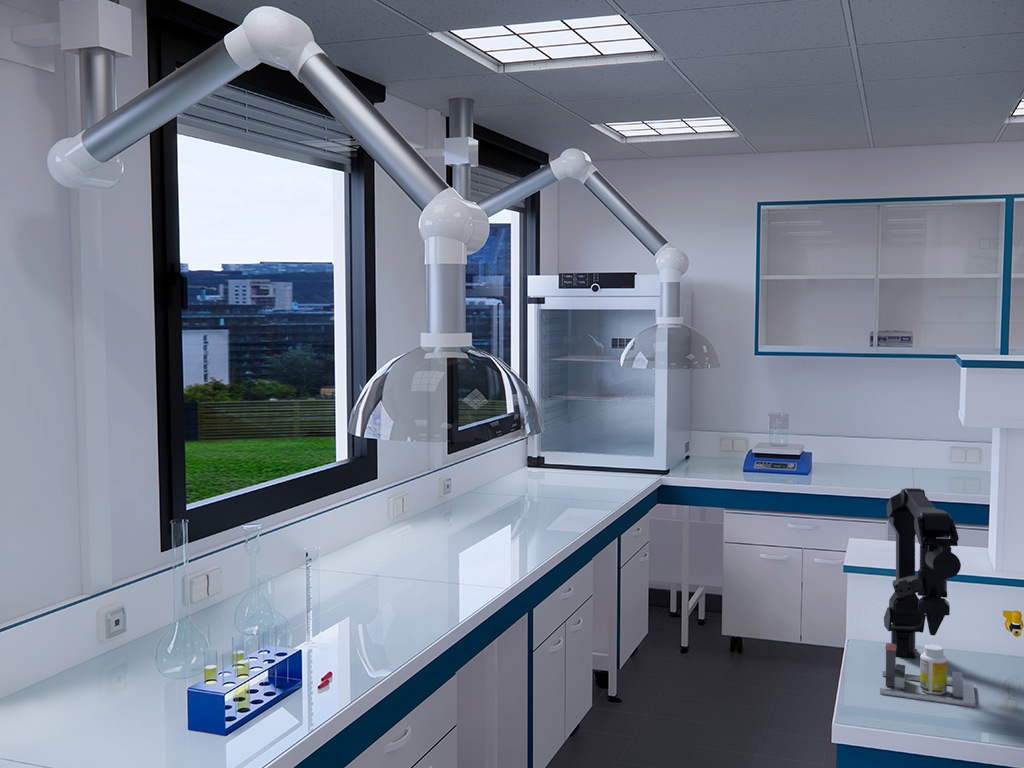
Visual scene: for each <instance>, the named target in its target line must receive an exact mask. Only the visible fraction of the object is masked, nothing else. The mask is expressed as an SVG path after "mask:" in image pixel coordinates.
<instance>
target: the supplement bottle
mask: <svg viewBox="0 0 1024 768" xmlns="http://www.w3.org/2000/svg"><path fill="white" fill-rule="evenodd" d="M919 656H920V660H919V661H920V664H919V665H920V667H919V670H920V671H919V674H920V675H919V676H920V681H919V687H920V690H921V691H922V692H924V693H925V694H927V695H935V696H942V695H944V694H946V693H947V691H948V685H947V679H948V657H947V656H946V655H944V647H943V646H941V645H937V644H925V645H924V648H923V653H921V654H920V655H919Z"/></svg>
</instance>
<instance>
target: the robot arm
mask: <svg viewBox="0 0 1024 768" xmlns="http://www.w3.org/2000/svg"><path fill="white" fill-rule="evenodd" d="M886 516H887V518H888V522H889V524H890V526H891V528H892V529H893V531H894V533H895V580H893V581H892V587H893V590H894V591H893V593H892V595H891V596H890V598H889V600H888V606H887V608H886V611H885V613H884V616H883V626H884V627H885V629H886V630H887V632H890V636H891V637H890V643H892V644H896V657H901V658H902V657H905V658H912V659H917V657H918V648H916V633H924V630H925V623H926V622H927V628H928V632H929V635H930V636H936V635H937V633H938V630H939V628H940V626H941V624H942V622H943V620H945V619H944V618H946V617H945V616H950V615H951V614H950V611H951V610H950V608H951V607H950V602H949V601H948V600H947V599H946V598H948V579H951V578H954V577H955V576H958V574H959V572H960V571H961V568H962V564H961V560H960V558H959V557H958V556H957V555H956V554H955V553H954V552H952V547H958V546H959V545H958V543H959V539H960V537H959V535H958V531H957V530H958V529H957V527H956V523H955V521H954V519H953V518H952V517H951V515H950V514H949V513H948V512H947V511H945V510H944V509H939V508H936V507H935V506H934V504H933V503H932V502H931V501H930V499H929V498H928V497H927V496H926V492H925V490H924V489H921V488H911V487H909V488H908V487H907V488H902V489H900V492H899V493H897V494H895V495H892V496H891V497H890V498H889V500H888V502H887V504H886ZM916 538H917V542H918V544H919V568H918V570H917V574H916ZM916 593H917V594H916ZM918 596H920V598H919V597H918Z"/></svg>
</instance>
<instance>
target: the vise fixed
mask: <svg viewBox="0 0 1024 768" xmlns="http://www.w3.org/2000/svg"><path fill="white" fill-rule="evenodd" d="M951 673H952V674H951V676H952V677H951V679H948V678H947V686H951V689H952V697H949V696H942V695H933V694H928V693H919V692H911V691H906V690H904V691H898V690H895V689H889V688H882V687H880V688H879V695H884V696H893V697H900V698H907V699H915V700H921V701H922V700H923V701H926V702H927V701H928V702H936V703H943V704H948V705H957V706H965V707H972V708H976V696H975V687H974V682H970V681H963V680H964V679H963V673H962V672H960V671H952V672H951ZM883 676H886V670H882V677H883ZM906 680H908V681H914V682H920V675H917V674H908V673H905V681H906Z"/></svg>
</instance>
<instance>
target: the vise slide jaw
mask: <svg viewBox="0 0 1024 768" xmlns="http://www.w3.org/2000/svg"><path fill="white" fill-rule="evenodd" d="M896 661H897V656H896V644H892V643H891V642H886V643H885V671H886V677H885V687H893V688H894V690H898V691H905V687H906V679H905V674H906V664H899V663H896Z"/></svg>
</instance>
